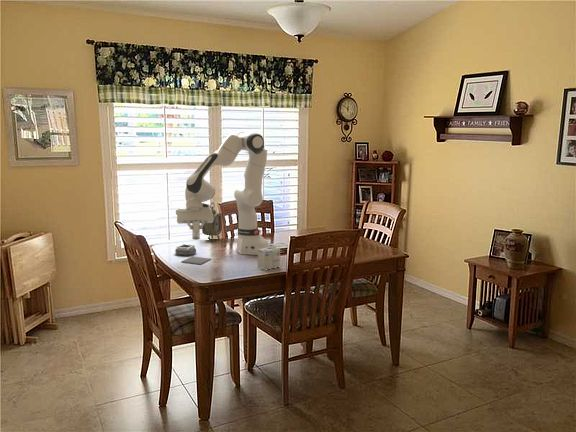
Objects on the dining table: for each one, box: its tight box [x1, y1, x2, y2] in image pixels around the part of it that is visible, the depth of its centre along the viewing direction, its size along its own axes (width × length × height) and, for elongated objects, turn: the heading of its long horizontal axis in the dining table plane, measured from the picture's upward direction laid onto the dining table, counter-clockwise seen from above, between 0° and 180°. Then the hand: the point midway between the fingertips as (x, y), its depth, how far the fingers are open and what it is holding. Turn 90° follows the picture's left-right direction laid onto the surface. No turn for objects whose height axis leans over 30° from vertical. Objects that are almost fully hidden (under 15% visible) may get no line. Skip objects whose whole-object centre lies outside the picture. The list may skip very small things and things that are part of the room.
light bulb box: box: [257, 246, 281, 271], centre depth 274 cm, size 11×7×11 cm, turn 129°
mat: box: [181, 255, 212, 266], centre depth 285 cm, size 12×12×1 cm
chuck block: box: [174, 243, 197, 257], centre depth 300 cm, size 12×12×4 cm
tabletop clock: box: [201, 201, 223, 242], centre depth 337 cm, size 14×9×25 cm, turn 168°
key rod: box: [191, 221, 201, 241], centre depth 282 cm, size 4×4×10 cm
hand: (196, 228), depth 281 cm, fingers closed on key rod, 4 cm apart
